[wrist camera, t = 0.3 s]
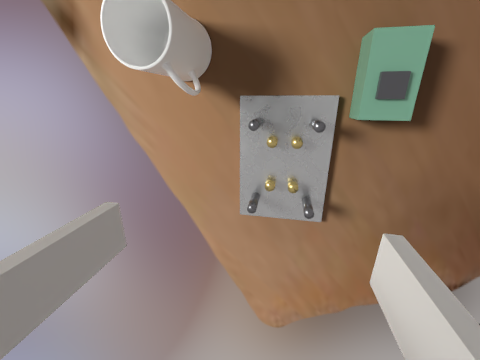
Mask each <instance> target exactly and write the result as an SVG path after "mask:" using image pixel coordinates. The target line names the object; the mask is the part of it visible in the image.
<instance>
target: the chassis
mask: <svg viewBox="0 0 480 360" xmlns="http://www.w3.org/2000/svg"><path fill="white" fill-rule="evenodd" d="M338 101H339V96H240V214H243V215H254V216H264V217H274V218H284V219H295V220H305V221H315V222H321V219H322V213H323V206H324V199H325V192H326V185H327V178H328V171H329V164H330V157H331V150H332V143H333V136H334V129H335V122H336V115H337V108H338Z"/></svg>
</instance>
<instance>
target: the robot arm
mask: <svg viewBox="0 0 480 360" xmlns="http://www.w3.org/2000/svg"><path fill="white" fill-rule="evenodd" d="M126 246H127V244H126V239H125V234H124V228H123V223H122V218H121V212H120V207H119V203H112V202H105V203H104V204H102V205H100V206H98V207H97V208H95V209H93V210H91V211H89V212H88V213H86V214H84V215H82V216H80V217H79V218H77V219H75V220H73V221H71V222H70V223H68V224H66V225H64V226H63V227H61V228H59V229H57V230H55V231H54V232H52V233H50V234H48V235H46V236H45V237H43V238H41V239H39V240H37V241H36V242H34V243H32V244H30V245H28V246H27V247H25V248H23V249H21V250H19V251H18V252H16V253H14V254H12V255H11V256H9V257H7V258H5V259H3V260H2V261H0V360H1V359H2V358H3V357H4V356H5V355H6V354H8V353H9V352H10V351H11V350H12V349H13V348H14V347H15V346H16V345H17V344H18V343H20V342H21V341H22V340H23V339H24V338H25V337H26V336H27V335H29V334H30V333H31V332H32V331H33V330H34V329H35V328H36V327H37V326H39V325H40V324H41V323H42V322H43V321H44V320H45V319H46V318H47V317H48V316H50V315H51V314H52V313H53V312H54V311H55V310H56V309H57V308H58V307H60V306H61V305H62V304H63V303H64V302H65V301H66V300H67V299H68V298H70V297H71V296H72V295H73V294H74V293H75V292H76V291H77V290H78V289H79V288H81V287H82V286H83V285H84V284H85V283H86V282H87V281H88V280H89V279H91V278H92V276H94V275H95V274H96V273H97V272H98V271H99V270H101V269H102V268H103V267H104V266H105V265H106V264H107V263H108V262H109V261H111V260H112V259H113V258H114V257H115V256H116V255H117V254H118V253H119V252H121V251H122V250H123V249H124V248H125V247H126ZM370 285H371V287H372V289H373V291H374V293H375V296H376V298H377V300H378V302H379V304H380V306H381V309H382V311H383V313H384V315H385V317H386V320H387V322H388V324H389V326H390V328H391V330H392V333H393V335H394V337H395V339H396V341H397V344H398V346H399V348H400V350H401V352H402V355H403V357H404V359H405V360H480V324H478V322H477V321H476V320H475V319H474V318H473V317H472V316H471V314H470V313H469V312H468V311H467V310H466V309H465V307H464V306H463V305H462V304H461V303H460V302H459V300H458V299H457V298H456V297H455V296H454V295H453V293H452V292H451V291H450V290H449V289H448V288H447V286H446V285H445V284H444V283H443V282H442V281H441V280H440V278H439V277H438V276H437V275H436V274H435V273H434V271H433V270H432V269H431V268H430V267H429V266H428V264H427V263H426V262H425V261H424V260H423V259H422V258H421V256H420V255H419V254H418V253H417V252H416V251H415V249H414V248H413V247H412V246H411V245H410V244H409V242H408V241H407V240H406V239H405V238H404V237H403V236H401V235H392V234H383V236H382V240H381V243H380V247H379V251H378V254H377V258H376V261H375V265H374V269H373V272H372V276H371V280H370Z"/></svg>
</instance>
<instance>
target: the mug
mask: <svg viewBox="0 0 480 360" xmlns="http://www.w3.org/2000/svg"><path fill="white" fill-rule="evenodd" d="M101 28H102V33H103V36H104V39H105V42H106V44H107V46H108V48H109V49H110V51H111V52H112V54H113V55H114V56H115V57H116V58H117V59H118V60H119V61H120V62H121V63H122V64H124V65H126V66H127V67H130V68H132V69H136V70H141V71H146V72H150V73H155V74H160V75H165V76H170V77H171V78H172V79H173V81H174V82H175V83H176V84H177V85H178V86H179V87H180V88H181V89H183V90H184V91H185V92H187V93H188V94H190V95H198V94H199V93H200V91H201V86H200V82H199V80H198V78H199V77H200V76H201V75H202V74H203V73H204V72H205V71H206V69H207V68H208V66H209V63H210V60H211V55H212V46H211V41H210V38H209V35H208V33H207V31H206V29H205V28H204V27H203V26H202V24H201V23H199V22H198V21H197V20H195V19H193V18H191V17H190V16H188V15H187V14H186V13H185V12H184V11H183V10H181V9H180V8H179V7H178V6H177V5H176V4H175V3H173V2H172V1H171V0H103V3H102V7H101ZM192 80H193V83H194V86H195V90H193V89H192V88H190V87H189V86H188V85H187V84H186V83H185V82H184V81H192Z"/></svg>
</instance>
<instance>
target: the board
mask: <svg viewBox="0 0 480 360" xmlns="http://www.w3.org/2000/svg"><path fill="white" fill-rule="evenodd" d="M434 28H435V25H426V26H406V27H386V28H374V29H373V30H371V31H370V32H369V33H368V34H367V35H365V36H364V37H363V38H362V43H361V49H360V55H359V61H358V67H357V73H356V79H355V85H354V91H353V97H352V103H351V109H350V115H349V118H353V119H356V120H390V121H411V117H412V113H413V109H414V105H415V102H416V98H417V94H418V90H419V86H420V82H421V78H422V74H423V71H424V67H425V63H426V59H427V55H428V51H429V47H430V43H431V39H432V36H433V32H434Z"/></svg>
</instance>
